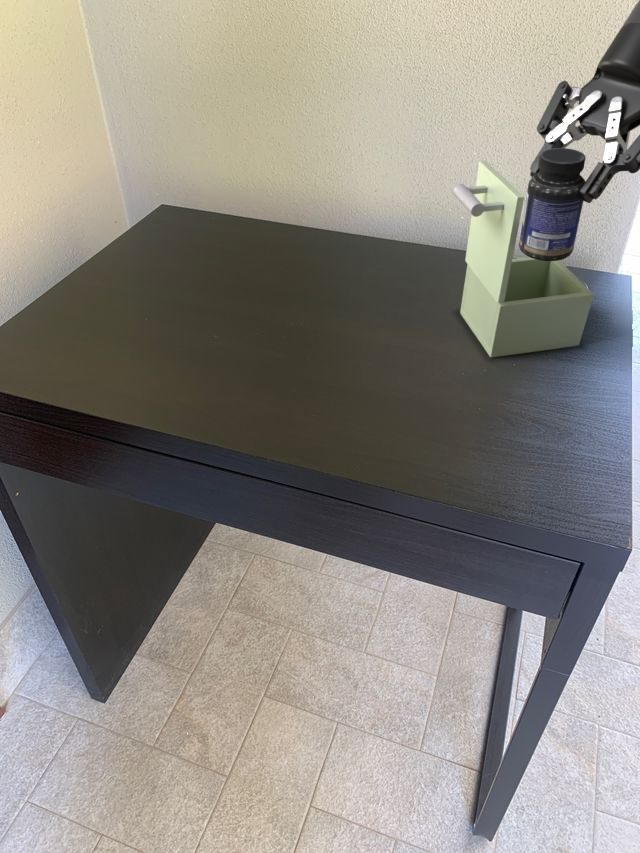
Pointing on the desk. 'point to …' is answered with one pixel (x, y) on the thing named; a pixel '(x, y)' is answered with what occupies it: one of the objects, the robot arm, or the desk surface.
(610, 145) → the robot arm
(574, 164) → the pill bottle
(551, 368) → the desk surface
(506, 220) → the green box lid
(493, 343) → the pale green open box
